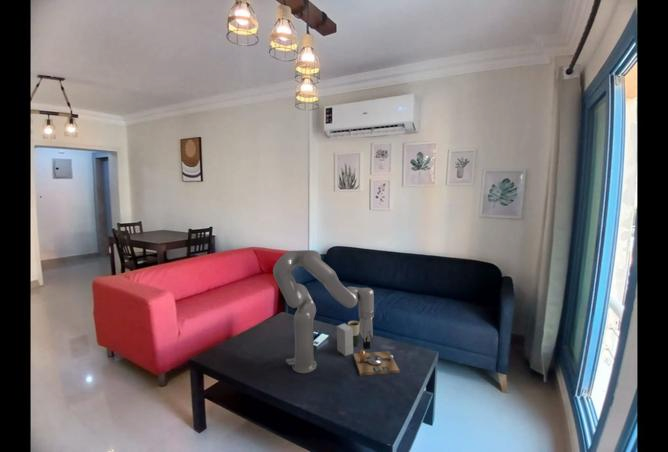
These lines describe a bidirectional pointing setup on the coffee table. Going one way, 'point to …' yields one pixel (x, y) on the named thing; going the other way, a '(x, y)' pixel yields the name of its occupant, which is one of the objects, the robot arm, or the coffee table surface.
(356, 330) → the character mug
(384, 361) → the stand
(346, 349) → the skincare box
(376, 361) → the cam capstan
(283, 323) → the coffee table surface
